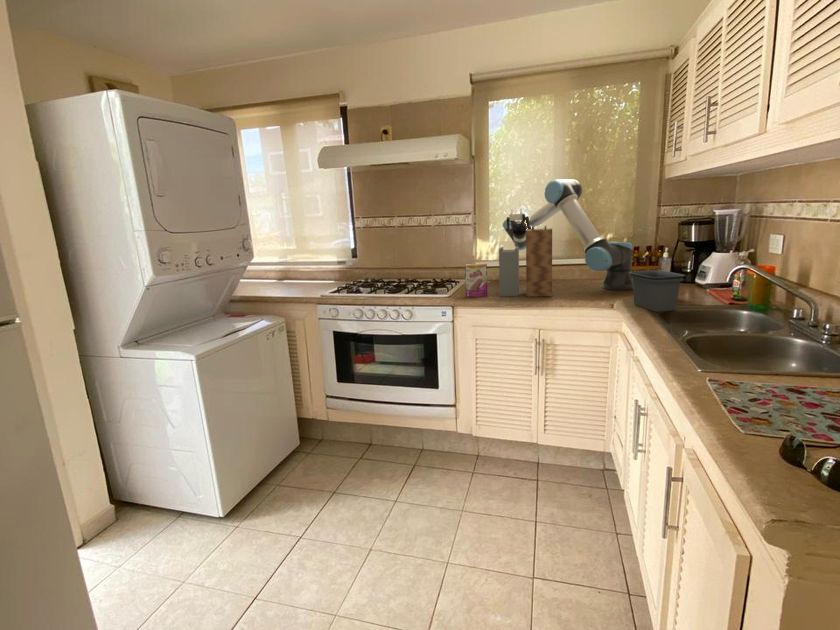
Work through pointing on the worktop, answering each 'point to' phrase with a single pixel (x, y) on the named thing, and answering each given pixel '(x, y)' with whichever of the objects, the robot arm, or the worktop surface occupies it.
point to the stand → (539, 262)
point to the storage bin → (656, 289)
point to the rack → (509, 272)
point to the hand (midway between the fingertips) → (516, 211)
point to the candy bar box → (476, 280)
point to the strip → (515, 217)
